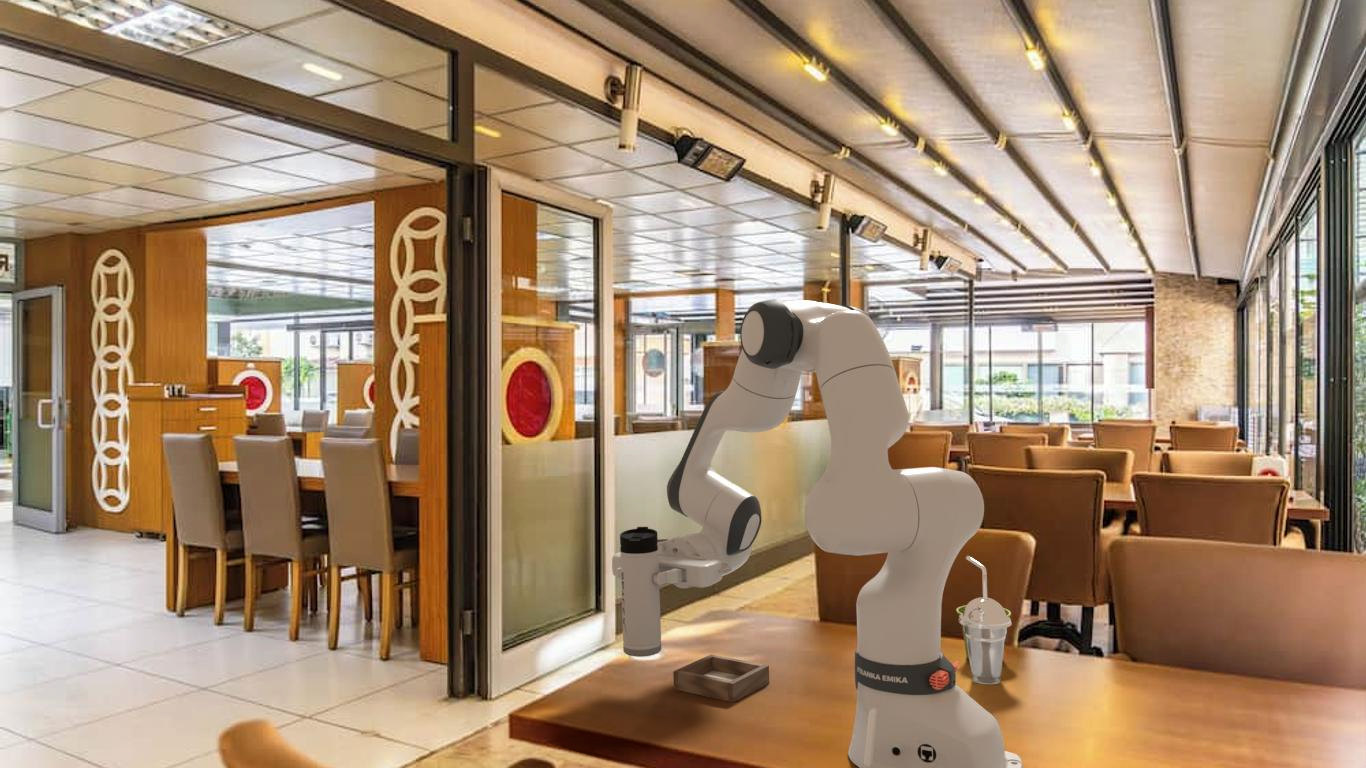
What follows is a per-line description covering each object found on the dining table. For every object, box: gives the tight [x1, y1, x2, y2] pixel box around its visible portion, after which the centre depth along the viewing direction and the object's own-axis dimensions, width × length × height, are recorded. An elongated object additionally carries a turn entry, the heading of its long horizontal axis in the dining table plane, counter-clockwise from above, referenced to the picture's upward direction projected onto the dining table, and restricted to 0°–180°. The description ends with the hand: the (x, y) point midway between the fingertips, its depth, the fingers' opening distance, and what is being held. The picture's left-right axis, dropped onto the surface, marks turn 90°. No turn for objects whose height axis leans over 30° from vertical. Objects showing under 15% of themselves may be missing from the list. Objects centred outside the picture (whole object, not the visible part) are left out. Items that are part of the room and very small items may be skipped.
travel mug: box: [619, 526, 662, 658], centre depth 153 cm, size 6×7×20 cm
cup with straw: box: [958, 555, 1013, 685], centre depth 156 cm, size 8×9×20 cm
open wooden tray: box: [672, 654, 770, 703], centre depth 157 cm, size 12×11×3 cm
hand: (637, 577), depth 152 cm, fingers closed on travel mug, 6 cm apart
